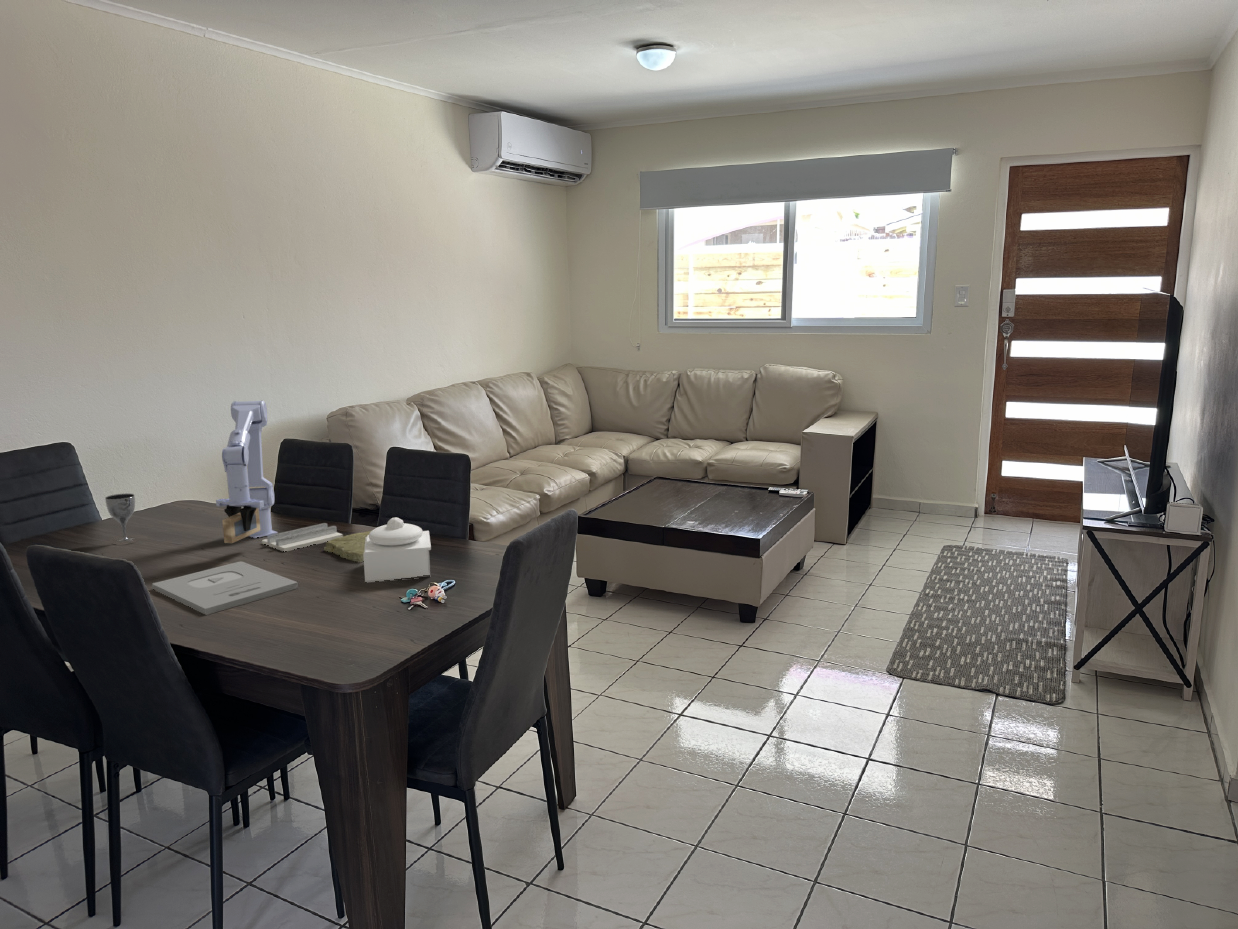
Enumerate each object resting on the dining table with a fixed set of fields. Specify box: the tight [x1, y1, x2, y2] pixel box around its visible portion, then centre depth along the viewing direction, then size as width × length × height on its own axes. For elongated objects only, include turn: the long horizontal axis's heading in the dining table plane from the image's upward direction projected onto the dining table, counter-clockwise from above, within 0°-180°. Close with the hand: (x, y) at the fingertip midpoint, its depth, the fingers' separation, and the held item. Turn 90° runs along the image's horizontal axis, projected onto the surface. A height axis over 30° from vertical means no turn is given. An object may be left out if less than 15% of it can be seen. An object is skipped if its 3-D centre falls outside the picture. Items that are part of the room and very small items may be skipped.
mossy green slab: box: [323, 530, 372, 563], centre depth 259 cm, size 19×20×4 cm
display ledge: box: [261, 522, 344, 553], centre depth 269 cm, size 14×20×3 cm
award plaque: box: [151, 560, 299, 616], centre depth 225 cm, size 25×30×2 cm
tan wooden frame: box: [221, 508, 260, 544], centre depth 254 cm, size 3×14×7 cm, turn 169°
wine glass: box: [105, 492, 136, 541], centre depth 268 cm, size 8×8×15 cm
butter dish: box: [363, 517, 432, 583], centre depth 239 cm, size 18×18×16 cm
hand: (242, 530), depth 254 cm, fingers closed on tan wooden frame, 3 cm apart
